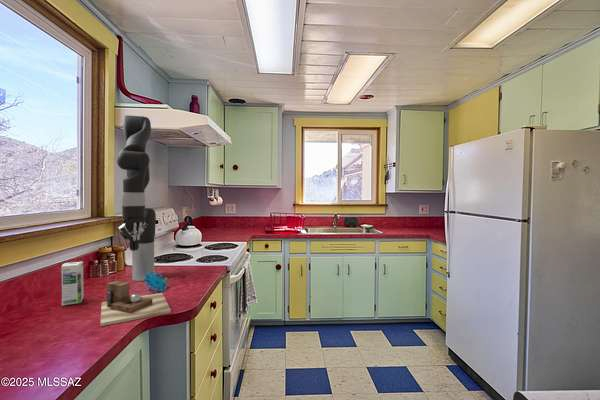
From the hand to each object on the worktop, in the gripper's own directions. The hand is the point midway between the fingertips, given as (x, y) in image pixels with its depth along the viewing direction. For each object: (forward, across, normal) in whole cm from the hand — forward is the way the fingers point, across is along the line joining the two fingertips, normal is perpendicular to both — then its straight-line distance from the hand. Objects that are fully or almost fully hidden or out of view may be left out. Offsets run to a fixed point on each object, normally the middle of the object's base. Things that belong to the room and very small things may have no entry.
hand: (134, 250), depth 113 cm
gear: (+19, -12, -1) cm, 23 cm away
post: (+19, +6, +8) cm, 21 cm away
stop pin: (+19, +10, -1) cm, 21 cm away
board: (+19, +6, +8) cm, 21 cm away
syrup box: (+19, +10, -19) cm, 29 cm away
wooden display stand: (+18, +7, +4) cm, 20 cm away
